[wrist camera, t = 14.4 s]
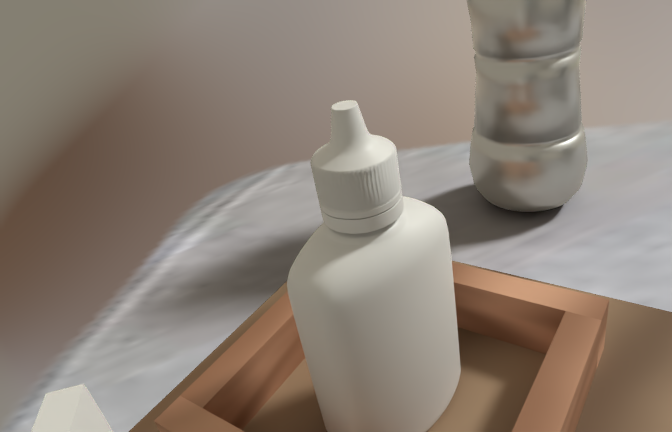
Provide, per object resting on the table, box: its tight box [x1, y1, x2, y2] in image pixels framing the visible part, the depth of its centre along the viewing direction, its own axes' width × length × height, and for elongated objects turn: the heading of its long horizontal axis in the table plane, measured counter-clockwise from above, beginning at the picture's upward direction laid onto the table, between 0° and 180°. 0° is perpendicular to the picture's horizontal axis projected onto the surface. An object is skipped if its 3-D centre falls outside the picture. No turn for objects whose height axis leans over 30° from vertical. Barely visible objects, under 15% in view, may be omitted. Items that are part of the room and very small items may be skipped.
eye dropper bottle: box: [287, 100, 461, 432], centre depth 17 cm, size 4×6×12 cm
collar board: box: [129, 261, 672, 432], centre depth 20 cm, size 18×18×4 cm
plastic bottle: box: [467, 0, 588, 212], centre depth 28 cm, size 6×7×20 cm
